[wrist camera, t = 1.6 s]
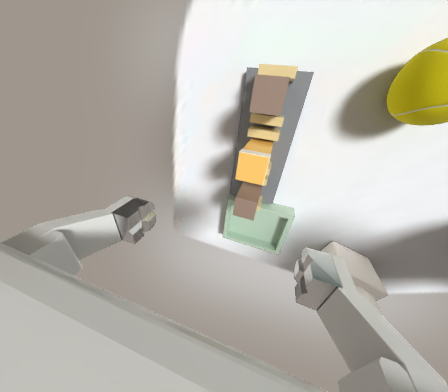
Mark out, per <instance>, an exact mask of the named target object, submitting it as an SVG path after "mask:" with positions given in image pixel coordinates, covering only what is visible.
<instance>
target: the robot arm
mask: <svg viewBox="0 0 448 392" xmlns="http://www.w3.org/2000/svg"><path fill="white" fill-rule="evenodd" d="M153 210H154V204H153V203H151V202H149V201H145V200H142V199H139V198H135V197H132V196H126V197H124V198H122V199H120V200H119V201H117V202H115V203H114V204H112V205H110V206H108V207H107V208H105V209H103V210H96V211H92V212H87V213H83V214H78V215H74V216H70V217H65V218H61V219H57V220H52V221H48V222H44V223H40V224H38V225H36V226H34V227H32V228H30V229H28V230H26V231H24V232H22V233H20V234H18V235H16V236H14V237H12V238H9V239H8V240H6V241H4V242H1V243H0V392H329V391H327V390H325V389H323V388H320V387H318V386H316V385H314V384H312V383H309V382H307V381H305V380H303V379H300V378H298V377H296V376H294V375H292V374H290V373H287V372H285V371H283V370H281V369H279V368H276V367H274V366H272V365H270V364H267V363H265V362H263V361H261V360H259V359H256V358H254V357H252V356H250V355H248V354H245V353H243V352H241V351H239V350H237V349H234V348H232V347H230V346H228V345H225V344H223V343H221V342H219V341H217V340H215V339H212V338H210V337H208V336H206V335H203V334H201V333H199V332H197V331H195V330H193V329H190V328H188V327H186V326H184V325H181V324H179V323H177V322H175V321H173V320H170V319H168V318H166V317H164V316H162V315H159V314H157V313H155V312H152V311H151V310H148V309H146V308H144V307H142V306H139V305H137V304H135V303H133V302H131V301H128V300H126V299H124V298H122V297H120V296H117V295H115V294H113V293H111V292H108V291H106V290H104V289H102V288H100V287H98V286H95V285H93V284H91V283H88V282H86V281H84V280H82V279H80V278H78V277H76V276H75V275H76V274H77V273H78V272H79V271H81V270H82V267H83V266H82V265H81V263H80V261H79V260H81V259H83V258H85V257H87V256H90V255H92V254H94V253H96V252H98V251H100V250H103V249H104V248H107V247H109V246H111V245H113V244H115V243H118V242H120V241H121V240H124V241H127V242H130V243H133V244H136V243H137V242H138V241H139V240H140V239H141V238H142V237H143V236H144V232H146V231H149V230H150V229H151V228H152V227H153V226H154V224H155V222H156V215H155V213H154V212H153ZM301 255H302V257H301V258H298V259H297V261H296V264H295V268H294V279H295V280H296V282H297V285H296V287H295V295H296V303H299V304H301V305H304V306H307V307H309V308H312V309H314V310H317V313H318V315H319V316H320V318H321V320H322V322H323V323H324V325H325V327H326V329H327V330H328V332H329V334H330V336H331V337H332V339H333V341H334V343H335V344H336V346H337V348H338V350H339V352H340V353H341V355H342V357H343V359H344V360H345V362H346V364H347V366H348V367H349V369H350V371H351V373H349V374H347V375H345V376H343V377H341V378H340V379H339V380H338V385H339V389H340V392H448V386H447V384H446V382H445V380H444V379H443V378H442V377H441V376H440V375H439V374H438V373H437V372H436V371H435V370H434V369H433V368H432V367H431V366H430V365H429V364H428V363H427V362H426V361H425V360H424V359H423V357H421V355H420V354H419V353H418V352H417V351H416V350H415V349H414V348H413V347H412V346H411V345H410V344H409V343H408V342H407V341H406V340H405V339H404V338H403V337H402V336H401V335H400V334H399V333H398V332H397V330H396V329H395V328H394V327H393V326H392V325H391V324H390V323H389V322H388V321H387V320H386V319H385V318H384V317H383V316H382V315H381V314H380V313H379V312H378V311H377V310H376V309H375V308H374V307H373V306H372V305H371V304H370V302H369V301H368V300H367V299H366V298H365V297H364V296H363V295H360V294H358V292H357V290H356V287H355V285H354V282H353V280H352V277H351V275H350V273H349V270H348V268H347V265H346V263H345V260H344V259H343V258H342V257H339V256H336V255H332V254H328V253H324V252H321V251H317V250H314V249H310V248H307V247H305V248H304V249H303V250H302V252H301Z"/></svg>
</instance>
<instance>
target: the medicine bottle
mask: <svg viewBox="0 0 448 392" xmlns="http://www.w3.org/2000/svg"><path fill="white" fill-rule="evenodd" d="M321 252H324V253H328V254H332V255H336V256H339V257H342V258H343V259H344V260H345V263H346V265H347V268H348V270H349V273H350V275H351V277H352V280H353V282H354V285H355V287H356V290H357V292H358V294H360V295H363V296H364V297H365V298H366V299H367V300H368V301H369V302H370V304H371V305H372V306H373V307H374V308H375V309H376V310H377V311H378V312H379V313H380V314H381V315H382V313H381V311H380V309H379V307H378V305H377V303H376V301H377V300H379V299H381V298H384V297H386V296H387V295H388V293H387V291H386V290H385V288H384V286H383V284H382V282H381V280H380V279H379V277H378V275H377V273H376V271H375V270H374V268H373V266H372V264H371V262H370V261H369V259H368V258H367V257H365V256H363V255H361V254H359V253H357V252H355V251H353V250H351V249H349V248H347V247H345V246H343V245H340V244H338V243H336V242H334V241H332V242H331V243H329V244H328V245H327V246H326V247H325V248H323V249H322V250H321ZM382 316H383V315H382Z"/></svg>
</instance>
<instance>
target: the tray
mask: <svg viewBox="0 0 448 392" xmlns="http://www.w3.org/2000/svg"><path fill="white" fill-rule="evenodd" d="M235 197H236V195H234V194H230V196H229V198H228V200H227V208H226V215H225V223H224V230H223V238H226V239H229V240H233V241H236V242H239V243H242V244H245V245H249V246H252V247H255V248H258V249H261V250H265V251H268V252H271V253H274V254H277V255H279V252H280V250H281V248H282V245H283V243H284V241H285V238H286V236H287V234H288V231H289V229H290V227H291V224H292V222H293V220H294V217H295V213H294V208H291V207H286V206H282V205H278V204H274V203H272V204H270V203H266V202H262V201H261V206H260V210H259V211H256V213H255V217H254V221H252V220H249V219H245V218H242V217H238V216H234V215H233V210H234V203H235Z"/></svg>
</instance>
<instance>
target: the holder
mask: <svg viewBox="0 0 448 392" xmlns="http://www.w3.org/2000/svg"><path fill="white" fill-rule="evenodd" d="M297 69H298V67H297V66H282V65H268V64H259V68H248V67H247V74H246V81H245V88H244V95H243V103H242V110H241V117H240V124H239V132H238V139H237V146H236V153H235V161H234V168H233V175H232V182H231V190H230V194H234V195H236V197H235V203H234V210H233V215H234V216H238V217H242V218H245V219H249V220H252V221H254V217H255V213H256V211H259V210H260V206H261V201H262V202H266V203H270V204H272V203H273V200H274V197H275V194H276V191H277V187H278V184H279V181H280V178H281V175H282V171H283V168H284V165H285V162H286V159H287V156H288V152H289V149H290V146H291V143H292V140H293V137H294V133H295V130H296V127H297V124H298V121H299V118H300V114H301V111H302V108H303V105H304V102H305V98H306V95H307V92H308V89H309V86H310V83H311V79H312V76H313V73H314V72H303V71H297ZM253 137H255V138H261V139H267V140H273V141H274V142H273V146H272V150H271V157H270V161H269V165H268V169H267V172H266V176H265V180H264V184H263V186H262V185H258V184H254V183H249V182H245V181H241V180H236V179H235V176H236V170H237V163H238V156H239V151H240V150H241V149H243V148H244V147H245V145H246V144H247V143H248V142H249V141H250V140H251V139H252V138H253Z"/></svg>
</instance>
